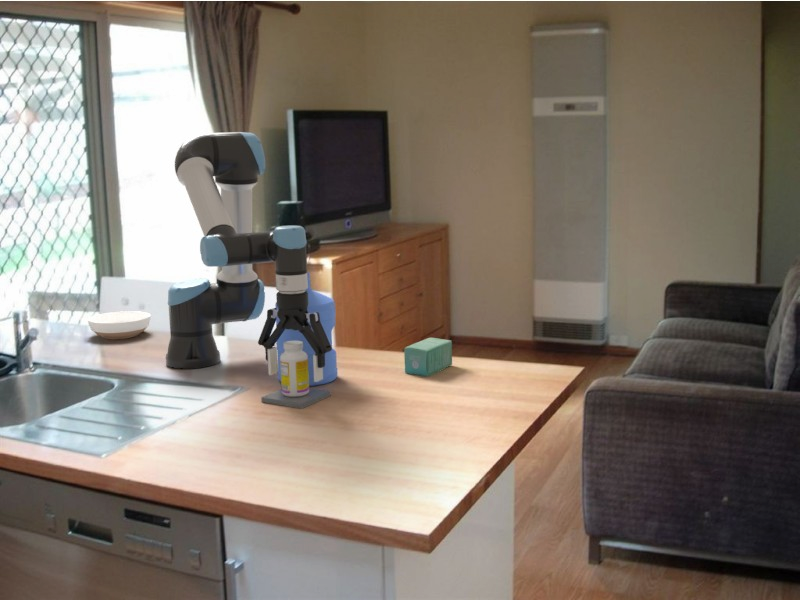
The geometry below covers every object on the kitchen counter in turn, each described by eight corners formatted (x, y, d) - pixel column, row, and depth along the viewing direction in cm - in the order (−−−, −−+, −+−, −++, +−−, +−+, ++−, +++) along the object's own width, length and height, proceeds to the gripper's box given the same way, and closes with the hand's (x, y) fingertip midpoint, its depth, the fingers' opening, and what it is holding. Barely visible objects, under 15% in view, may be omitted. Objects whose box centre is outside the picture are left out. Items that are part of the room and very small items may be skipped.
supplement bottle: (311, 390, 224) (309, 339, 221) (306, 397, 217) (304, 345, 215) (285, 390, 224) (282, 339, 222) (279, 397, 218) (276, 345, 215)
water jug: (305, 390, 227) (301, 281, 222) (265, 380, 238) (260, 275, 233) (350, 377, 239) (346, 273, 234) (310, 368, 249) (306, 267, 244)
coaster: (261, 401, 219) (261, 397, 218) (291, 389, 229) (291, 384, 229) (301, 408, 213) (301, 403, 213) (330, 395, 223) (330, 390, 223)
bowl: (77, 341, 288) (76, 322, 287) (107, 328, 307) (105, 310, 306) (135, 342, 285) (134, 323, 283) (161, 329, 304) (160, 311, 302)
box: (403, 373, 242) (403, 346, 241) (429, 362, 253) (429, 336, 252) (427, 377, 238) (427, 349, 237) (452, 366, 249) (452, 339, 248)
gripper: (241, 289, 219) (245, 374, 223) (326, 297, 207) (329, 387, 210) (260, 285, 225) (264, 367, 229) (344, 292, 213) (347, 379, 217)
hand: (295, 377), depth 220 cm, fingers open, 13 cm apart
